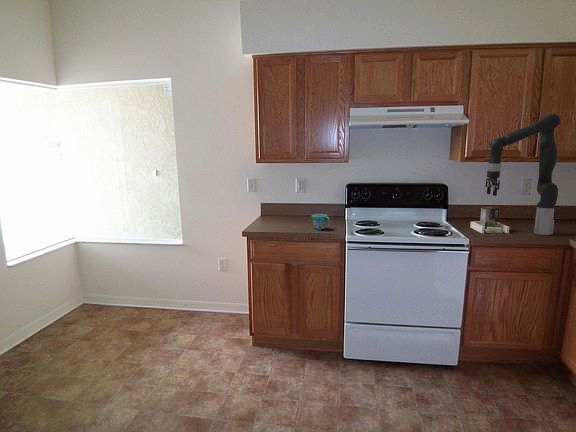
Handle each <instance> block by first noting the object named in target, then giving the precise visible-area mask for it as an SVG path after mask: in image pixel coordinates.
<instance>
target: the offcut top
mask: <svg viewBox="0 0 576 432" xmlns="http://www.w3.org/2000/svg"><path fill="white" fill-rule="evenodd" d="M487 230H488V231H502V228H500V227H487Z"/></svg>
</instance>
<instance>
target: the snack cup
mask: <svg viewBox="0 0 576 432" xmlns="http://www.w3.org/2000/svg"><path fill="white" fill-rule="evenodd" d="M312 221H313V227H314V230H316V229H317V230H316V231H323V230H322V229H324V230H325V229H326V225H328V226H330V225H331V219H330V217H329V216H328V214H325V213H315V214H312V215H311V216H310V217H309V224H312ZM327 221H328V224H327Z"/></svg>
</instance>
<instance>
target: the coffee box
mask: <svg viewBox="0 0 576 432" xmlns="http://www.w3.org/2000/svg"><path fill="white" fill-rule="evenodd" d="M499 213H500V208H499V207H497V206H481V207H480V218H479V219H480V220H479V221H480V225H481V226H483V227H485V228H484V229H487V227H498V222H499V216H500V215H499Z"/></svg>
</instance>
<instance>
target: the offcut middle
mask: <svg viewBox="0 0 576 432" xmlns="http://www.w3.org/2000/svg"><path fill="white" fill-rule="evenodd" d="M484 233H486V234H504V232H503V231H488V230H487V229H484Z"/></svg>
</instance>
